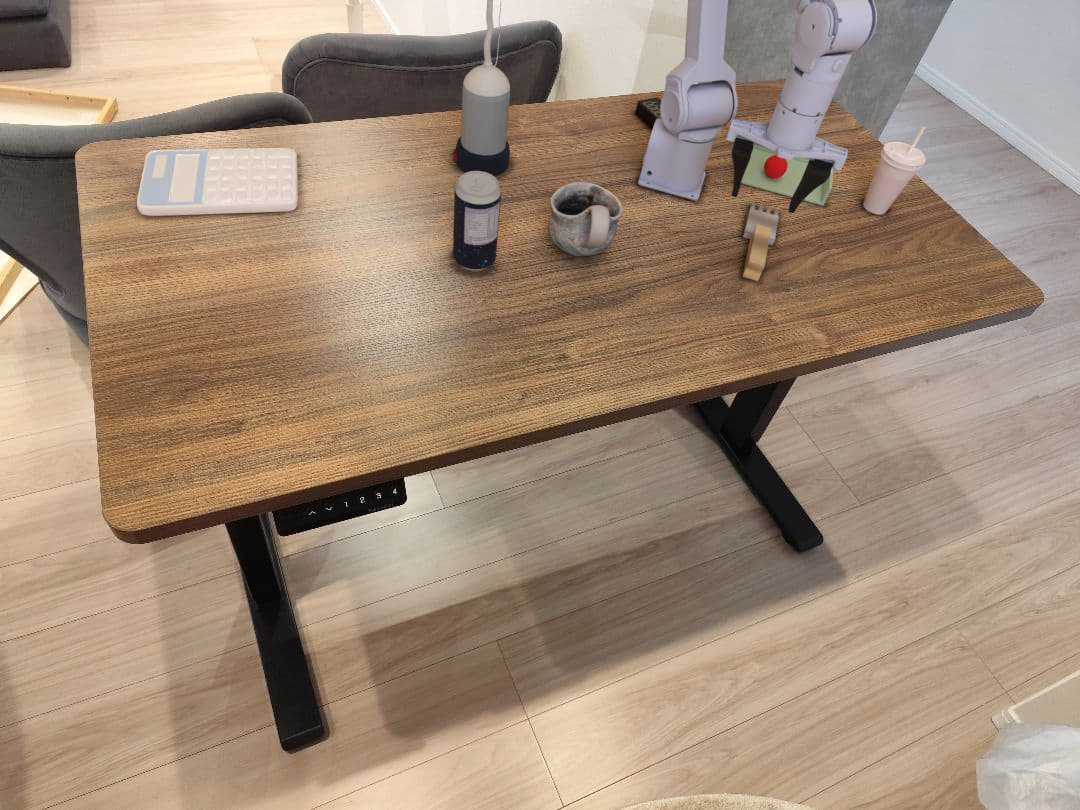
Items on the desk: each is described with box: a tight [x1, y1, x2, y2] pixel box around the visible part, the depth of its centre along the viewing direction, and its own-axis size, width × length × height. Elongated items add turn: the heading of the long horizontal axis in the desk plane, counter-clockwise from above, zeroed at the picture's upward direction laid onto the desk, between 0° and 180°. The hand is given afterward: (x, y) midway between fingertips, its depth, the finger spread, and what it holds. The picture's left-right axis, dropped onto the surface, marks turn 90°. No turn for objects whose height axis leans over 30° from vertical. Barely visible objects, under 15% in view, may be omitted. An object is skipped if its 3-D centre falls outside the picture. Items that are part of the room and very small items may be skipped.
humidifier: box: [452, 0, 511, 177], centre depth 102 cm, size 8×8×25 cm
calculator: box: [136, 147, 299, 217], centre depth 100 cm, size 13×20×2 cm, turn 102°
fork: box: [742, 202, 780, 282], centre depth 106 cm, size 17×4×3 cm, turn 162°
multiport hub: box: [634, 96, 662, 131], centre depth 123 cm, size 4×11×2 cm, turn 29°
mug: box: [547, 181, 624, 257], centre depth 97 cm, size 10×12×10 cm
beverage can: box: [452, 171, 502, 272], centre depth 93 cm, size 6×6×12 cm
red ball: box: [764, 155, 788, 178], centre depth 117 cm, size 4×4×4 cm
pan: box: [741, 145, 835, 206], centre depth 121 cm, size 20×14×3 cm
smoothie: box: [862, 125, 927, 216], centre depth 111 cm, size 6×6×14 cm
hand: (763, 200), depth 97 cm, fingers open, 7 cm apart
